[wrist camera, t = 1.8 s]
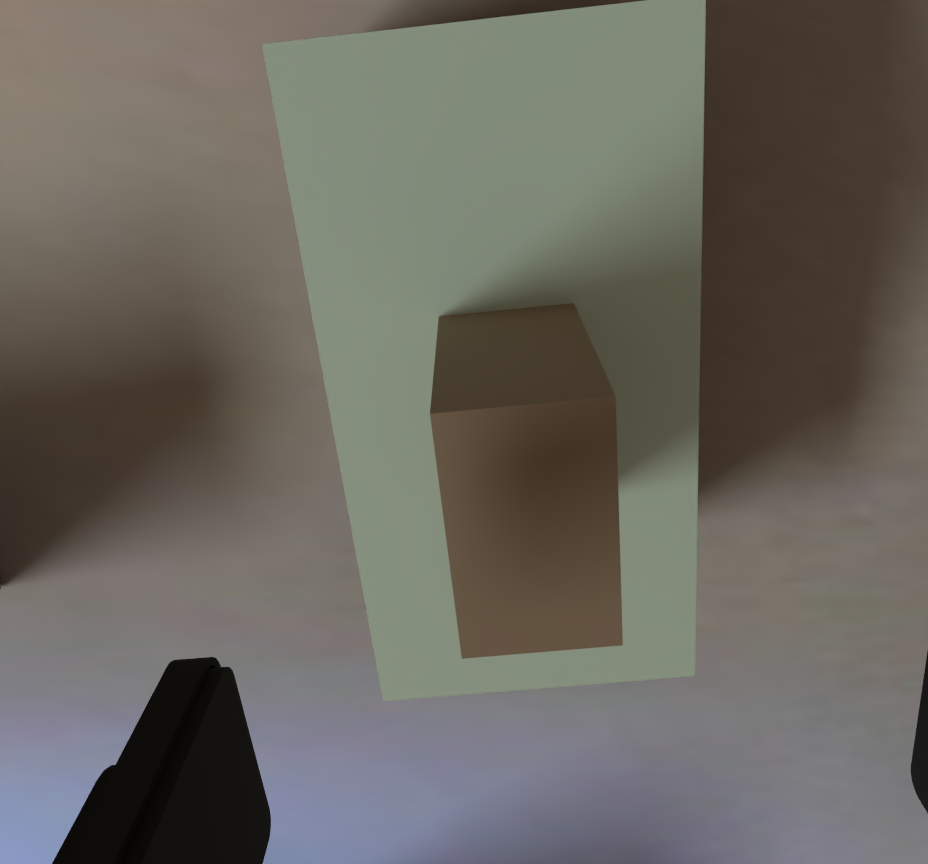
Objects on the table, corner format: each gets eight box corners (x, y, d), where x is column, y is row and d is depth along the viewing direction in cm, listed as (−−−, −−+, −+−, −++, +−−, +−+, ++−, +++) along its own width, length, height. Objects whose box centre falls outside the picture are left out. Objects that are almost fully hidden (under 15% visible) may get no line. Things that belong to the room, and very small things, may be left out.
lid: (274, 45, 17) (171, 38, 11) (690, -3, 17) (819, -37, 11) (386, 672, 24) (361, 881, 18) (684, 647, 24) (760, 851, 18)
